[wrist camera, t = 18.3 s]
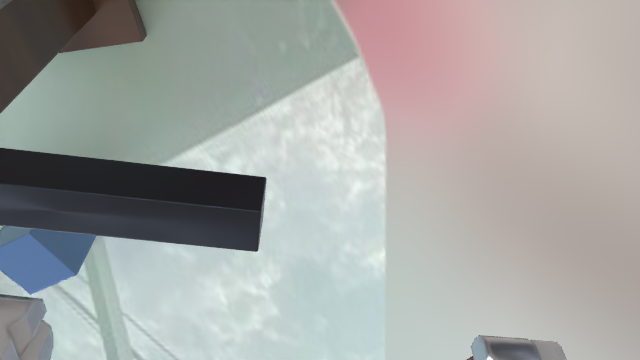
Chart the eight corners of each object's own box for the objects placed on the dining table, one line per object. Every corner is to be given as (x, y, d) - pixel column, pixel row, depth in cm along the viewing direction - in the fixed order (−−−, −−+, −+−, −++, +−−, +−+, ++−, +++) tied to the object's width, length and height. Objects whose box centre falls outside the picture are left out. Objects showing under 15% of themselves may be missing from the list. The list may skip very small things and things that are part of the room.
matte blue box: (63, 178, 55) (28, 233, 49) (104, 219, 58) (76, 275, 52) (20, 200, 57) (-19, 255, 50) (62, 238, 60) (30, 295, 53)
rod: (-166, 178, 25) (-214, 218, 23) (-200, 110, 23) (-257, 147, 21) (262, 223, 27) (256, 265, 24) (267, 163, 25) (261, 202, 22)
